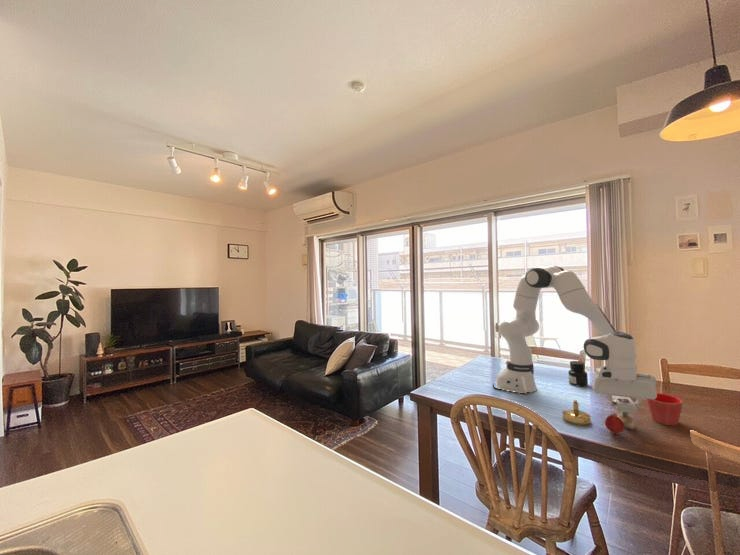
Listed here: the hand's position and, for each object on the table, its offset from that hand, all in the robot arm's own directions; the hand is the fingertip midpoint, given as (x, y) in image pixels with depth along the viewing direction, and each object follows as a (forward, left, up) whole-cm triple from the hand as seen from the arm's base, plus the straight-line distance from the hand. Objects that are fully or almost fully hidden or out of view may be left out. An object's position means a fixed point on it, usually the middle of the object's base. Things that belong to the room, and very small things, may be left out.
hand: (623, 406), depth 125 cm
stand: (0, 0, -8) cm, 8 cm away
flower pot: (+15, +10, -8) cm, 20 cm away
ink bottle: (-10, +48, -8) cm, 49 cm away
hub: (-17, -1, -8) cm, 19 cm away
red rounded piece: (-5, -9, -8) cm, 13 cm away
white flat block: (0, 0, -1) cm, 1 cm away
